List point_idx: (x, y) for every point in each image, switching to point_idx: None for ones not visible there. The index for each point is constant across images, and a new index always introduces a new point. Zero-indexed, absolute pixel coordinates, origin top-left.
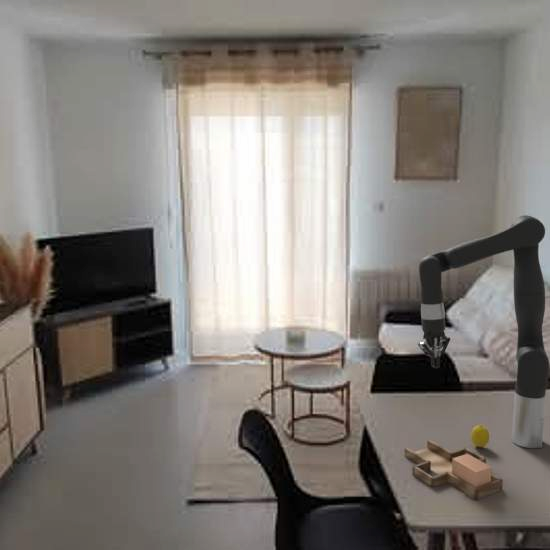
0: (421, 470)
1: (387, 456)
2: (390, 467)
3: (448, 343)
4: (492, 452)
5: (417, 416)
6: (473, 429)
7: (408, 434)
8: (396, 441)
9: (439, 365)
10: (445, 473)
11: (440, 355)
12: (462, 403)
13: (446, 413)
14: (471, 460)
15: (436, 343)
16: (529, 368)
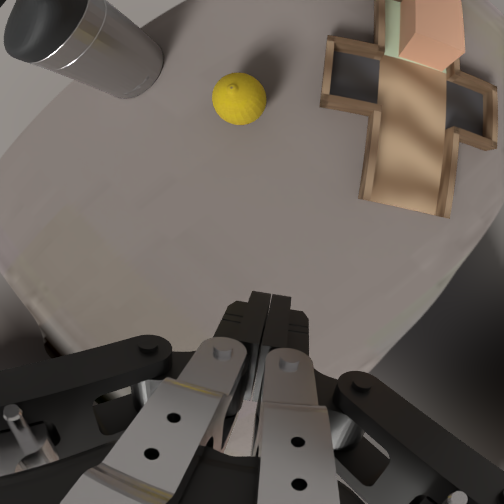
0: (494, 122)
1: (462, 247)
2: (492, 208)
3: (16, 368)
4: None
5: None
6: (250, 107)
7: (330, 289)
8: (387, 284)
9: (253, 295)
10: (464, 73)
11: (214, 339)
12: (76, 296)
13: (142, 294)
14: (432, 15)
15: (277, 498)
16: None
